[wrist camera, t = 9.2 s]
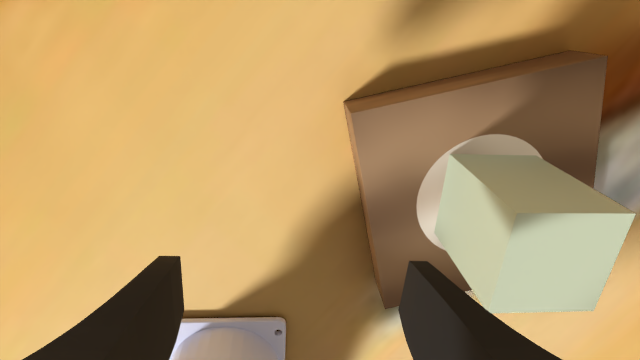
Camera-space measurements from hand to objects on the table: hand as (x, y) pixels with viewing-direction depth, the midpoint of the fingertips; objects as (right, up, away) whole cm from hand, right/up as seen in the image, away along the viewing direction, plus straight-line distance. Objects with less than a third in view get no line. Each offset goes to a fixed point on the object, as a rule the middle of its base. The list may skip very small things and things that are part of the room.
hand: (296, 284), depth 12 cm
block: (+9, +3, +8) cm, 12 cm away
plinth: (+9, +3, +10) cm, 14 cm away
